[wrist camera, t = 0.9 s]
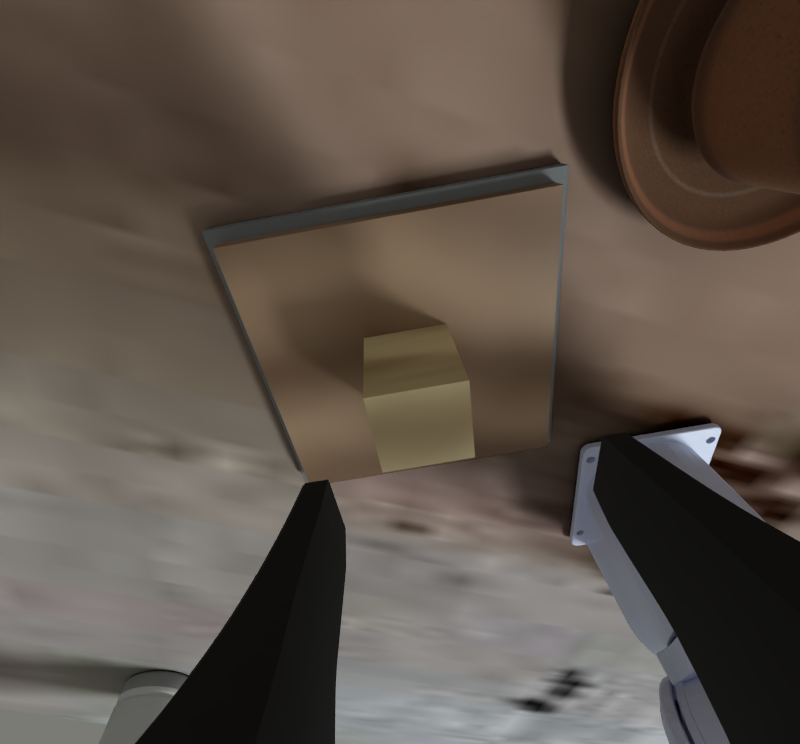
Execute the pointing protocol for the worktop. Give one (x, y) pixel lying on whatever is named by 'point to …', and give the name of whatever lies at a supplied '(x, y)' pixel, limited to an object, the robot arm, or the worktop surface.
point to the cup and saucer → (712, 120)
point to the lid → (407, 330)
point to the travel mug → (140, 705)
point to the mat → (384, 205)
